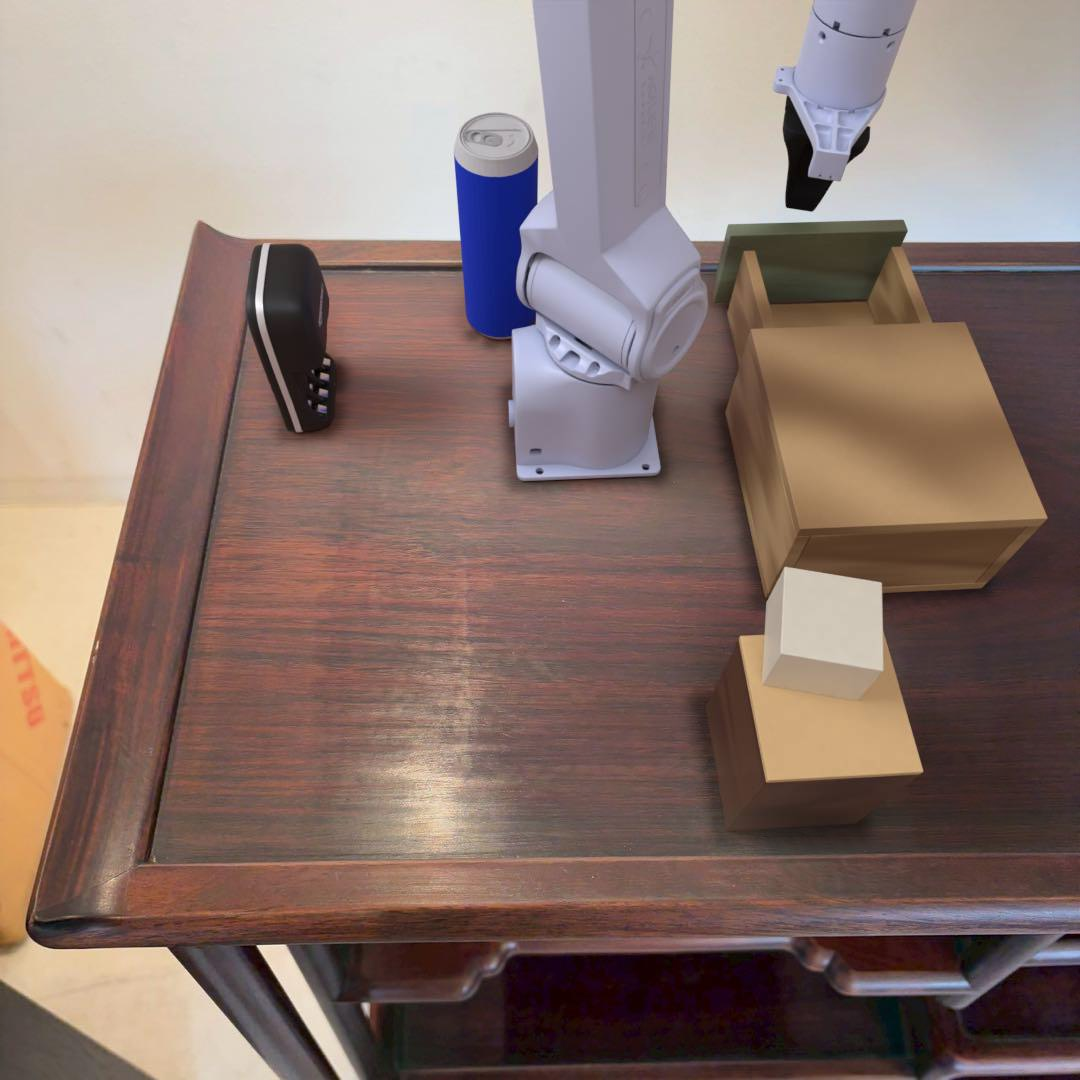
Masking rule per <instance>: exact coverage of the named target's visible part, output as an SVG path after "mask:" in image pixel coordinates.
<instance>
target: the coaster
mask: <svg viewBox="0 0 1080 1080" xmlns="http://www.w3.org/2000/svg"><path fill="white" fill-rule="evenodd" d="M764 636H765V634H750V635H749V634H747V635H740V636H739V637H738V640H739V644H740V649H741V654H742V660H743V665H744V670H745V675H746V680H747V686H748V691H749V696H750V701H751V706H752V712H753V717H754V722H755V727H756V732H757V738H758V743H759V748H760V753H761V758H762V764H763V769H764V774H765V779H766V783H773V782H791V781H809V780H827V779H845V778H863V777H881V776H899V775H917V774H920V775H921V774H923V773H924V768H923V764H922V762H921V761H922V760H921V758H920V753H919V750H918V746H917V744H916V741H915V737H914V733H913V730H912V726H911V723H910V719H909V715H908V712H907V709H906V705H905V701H904V698H903V695H902V692H901V688H900V684H899V681H898V677H897V673H896V670H895V667H894V663H893V660H892V657H891V653H890V650H889V646H888V641H887V639H886V636H885V631H884V630H883V657H884V671H883V672H882V673H881V674H880V676H879V677H878V678H877V679H876V680H875V681H874V682H873V683H872V685H871V686H870V687H869V688H868V689H867V690H866V691H865V692H864V694H863V695H862V696H861V697H860V698H859V699H858V700H857V701H854V700H848V699H842V698H836V697H831V696H825V695H819V694H814V693H808V692H802V691H796V690H791V689H785V688H779V687H773V686H768V685H763V684H762V672H763V654H764Z"/></svg>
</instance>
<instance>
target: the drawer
mask: <svg viewBox="0 0 1080 1080" xmlns="http://www.w3.org/2000/svg"><path fill="white" fill-rule="evenodd" d="M908 231H909V229H908V226H907V225H906V222H905V220H904V219H874V220H871V219H869V220H836V221H835V220H834V221H831V220H830V221H800V222H799V221H797V222H764V223H763V222H762V223H760V222H759V223H729V224H727V227H726V231H725V236H724V239H723V244H722V246H721V247H722V248H721V252H720V255H719V256H720V257H719V260H718V264H717V269H716V272H715V275H714V276H715V278H714V281H713V285H712V289H711V298H712V301H713V304H715V305H716V304H729V305H728V309H727V311H726V312H727V313H726V315H727V319H728V323H729V327H730V331H731V335H732V336H731V337H732V341H733V345H734V350H735V354H736V357H737V363H738V367H739V366H740V363H741V359H742V356H743V353H744V350H745V346H746V343H747V340H748V336H749V332H750V329H761V328H792V327H822V326H853V325H884V324H914V323H933V320H932V317H931V315H930V312H929V309H928V307H927V305H926V302H925V300H924V297H923V295H922V292H921V290H920V287H919V285H918V282H917V279H916V277H915V274H914V272H913V269H912V267H911V265H910V263H909V259H908V258H907V257H908V256H907V254H906V252H905V249H904V247H903V246H902V245H903V243H904V241H905V239H906V237H907V234H908ZM843 300H844V302H843ZM845 300H867V301H845ZM812 301H813V302H812ZM815 301H816V302H815ZM817 301H838V302H817ZM839 301H841V302H839ZM780 302H781V303H780ZM782 302H783V303H782ZM784 302H804V303H784ZM805 302H807V303H805ZM809 302H811V303H809ZM770 303H774V304H770ZM775 303H776V304H775ZM777 303H778V304H777Z"/></svg>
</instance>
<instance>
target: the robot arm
mask: <svg viewBox="0 0 1080 1080" xmlns="http://www.w3.org/2000/svg"><path fill="white" fill-rule="evenodd" d="M917 1H918V0H813V2H812V6H811V9H810V13H809V17H808V21H807V24H806V28H805V32H804V34H803V40H802V42H801V46H800V50H799V54H798V58H797V62H796V65H795V66H785V65H781V66H778V67H776V68H775V72H774V76H773V82H772V90H773V91H774V92H775V93H777V94H780V95H785V96H786V98H785V106H784V115H783V122H782V136H783V141H784V144H785V148H786V152H787V176H786V185H785V195H784V204H785V208H787V209H790V210H797V211H802V212H803V211H804V212H811V213H812V212H814V211H815V210H816V209H817V207H818V206H819V204H821V202H822V200H823V198H824V197H825V195H826V194H827V192H828V191H829V189H830V187H831V186H832V185H833V183H834V182H841V181H842V178H843V176H844V173H845V170H846V167H847V166H848V164H849V163H850V162H852V161H853V160H854V159H855V158H857V157H858V156H859V155H861V154H862V153H863V152H864V151H865V150H866V148H867V146H868V145H869V142H870V139H871V126H869V124H871V122H872V120H873V119H874V117H875V116H876V115H877V113H878V112H879V111H880V109H881V108H882V106H883V104H884V101H885V98H886V96H887V90H888V89H887V83H888V80H889V78H890V75H891V72H892V69H893V67H894V64H895V61H896V59H897V56H898V54H899V50H900V48H901V45H902V42H903V40H904V37H905V34H906V31H907V29H908V25H909V23H910V20H911V18H912V15H913V12H914V10H915V7H916V5H917ZM531 4H532V12H533V21H534V28H535V29H534V31H535V38H536V48H537V56H538V65H539V76H540V83H541V92H542V102H543V112H544V119H545V121H544V122H545V128H546V129H545V130H546V138H547V147H548V156H549V165H550V175H551V183H552V189H551V191H549V192H548V193H547V194H546V195H545V196H543V198H541V199H540V201H538V204H537V205H536V206H535V207H534V208H533V210H532V211H531V212H530V214H529V215H528V217H527V218H526V219H525V221H524V222H523V223H522V225H521V226H520V235H521V244H522V250H521V256H520V259H519V263H518V267H517V278H516V290H517V295H518V297H519V299H520V301H521V302H522V303H523V304H524V305H525V306H527V307H528V308H530V309H533V310H535V311H536V316H535V324H531V326H528V327H523V328H518V329H513V330H512V338H511V383H512V385H511V386H512V387H511V388H512V390H511V394H512V395H511V396H512V397H511V398H512V399H508V402H507V404H508V405H507V406H508V427H509V428H513V429H514V430H513V431H514V446H515V447H514V448H515V466H516V477H517V478H518V480H519V481H522V482H533V481H534V482H535V481H537V482H538V481H556V480H557V481H558V480H559V481H560V480H584V479H609V478H611V479H612V478H634V477H655V476H658V475H659V474H660V473H661V470H662V469H661V468H662V466H661V460H660V459H661V458H660V454H659V447H658V441H657V436H656V429H655V422H654V416H653V413H654V408H655V403H656V397H657V391H658V386H659V382H660V381H659V380H660V378H662V377H663V376H664V377H665V376H666V375H667V374H669V372H671V371H672V370H673V369H674V368H675V367H676V366H677V365H678V364H679V363H680V362H681V361H682V360H683V358H684V357H685V356H686V354H688V352H689V350H690V349H691V347H692V346H693V344H694V343H695V341H696V339H697V337H698V335H699V333H700V332H701V330H702V327H703V325H704V323H705V320H706V317H707V314H708V309H709V300H708V287H707V284H706V283H705V281H704V280H703V279H702V276H701V266H702V255H701V254H700V252H699V250H698V249H697V247H695V245H694V243H693V242H692V240H691V239H690V238H689V236H688V235H687V233H686V232H685V231H684V229H683V227H682V226H681V225H680V224H679V223H678V221H677V220H676V219H675V217H674V216H673V215H672V212H671V211H670V210H669V208H668V206H667V205H666V201H667V179H668V178H667V176H668V154H669V153H668V152H669V129H670V128H669V127H670V105H671V102H670V101H671V81H672V80H671V79H672V57H673V55H672V54H673V35H674V33H673V31H674V30H673V29H674V10H675V9H674V6H675V5H674V4H675V0H531ZM644 468H646V469H644ZM539 472H541V473H539Z"/></svg>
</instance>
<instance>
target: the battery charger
mask: <svg viewBox="0 0 1080 1080" xmlns="http://www.w3.org/2000/svg"><path fill="white" fill-rule="evenodd" d="M247 277H248V278H247V284H246V293H245V317H246V321H247V325H248V329H249V332H250V335H251V338H252V341H253V343H254V347H255V349H256V351H257V355H258V358H259V360H260V363H261V365H262V368H263V370H264V371H263V372H264V374H265V376H266V379H267V381H268V383H269V386H270V388H271V391H272V393H273V396H274V399H275V402H276V404H277V406H278V409H279V411H280V414H281V417H282V420H283V423H284V426H285V428H286V430H287V431H288V432H295V433H303V432H307V431H316V430H321V429H323V428H326V427H328V426H329V425H330V424H331V423H332V422H333V418H334V413H335V412H334V410H335V409H334V408H335V396H336V381H337V365H336V361H335V359H334V358H332V357H331V355H329V354H328V353H327V342H328V320H329V315H330V297H329V292H328V288H327V284H326V282H325V279H324V277H323V272H322V269H321V267H320V264H319V261H318V259H317V257H316V254H315V253H314V251H313V250H312V249H311V248H310V247H308V246H306V245H304V244H302V243H273V242H263V244H257V245H255V246H254V248H252V251H251V257H250V264H249V271H248V275H247Z"/></svg>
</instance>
